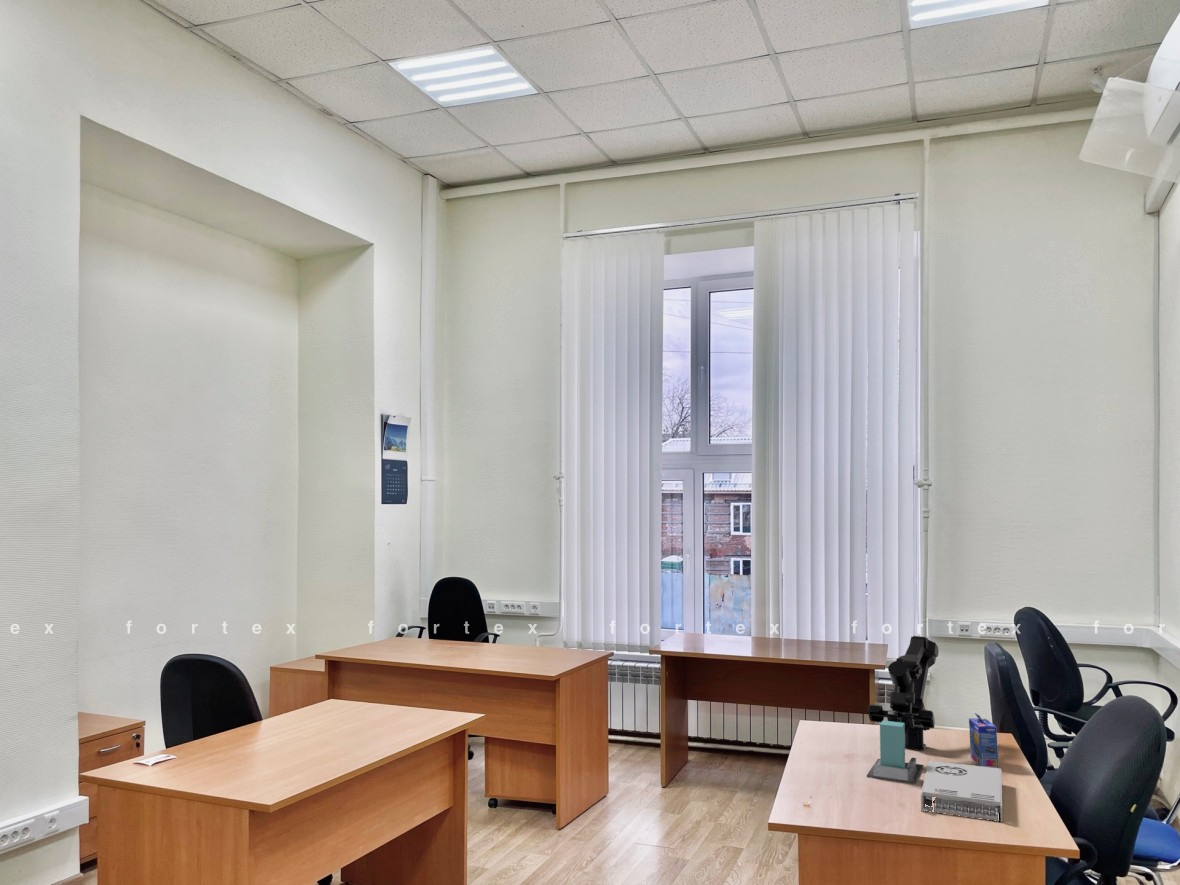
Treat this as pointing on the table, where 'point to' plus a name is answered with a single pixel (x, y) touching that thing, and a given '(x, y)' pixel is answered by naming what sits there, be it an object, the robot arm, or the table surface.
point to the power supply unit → (963, 790)
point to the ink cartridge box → (983, 742)
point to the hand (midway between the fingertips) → (898, 741)
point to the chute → (897, 772)
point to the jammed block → (892, 744)
